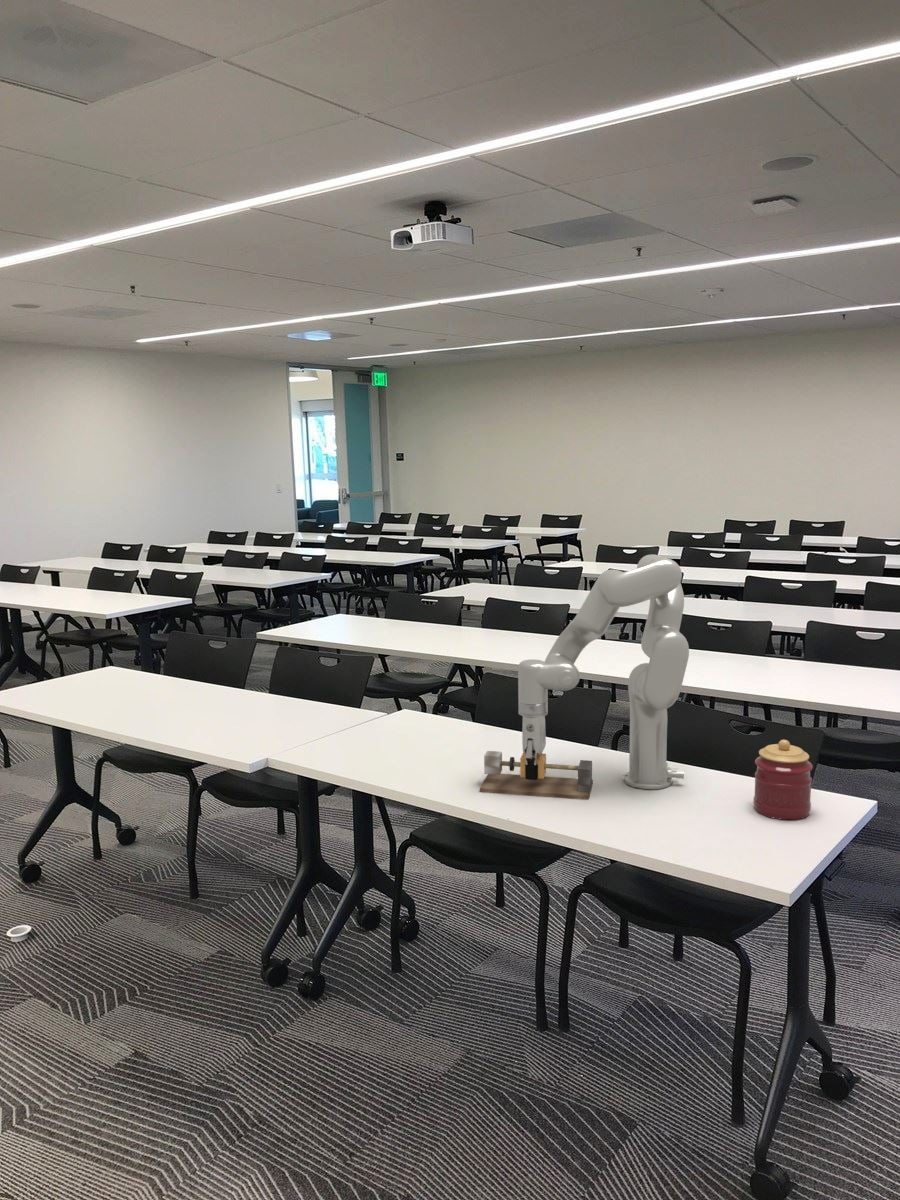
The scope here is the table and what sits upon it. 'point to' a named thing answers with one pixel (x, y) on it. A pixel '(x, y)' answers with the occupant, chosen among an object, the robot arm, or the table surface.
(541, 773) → the sleeve
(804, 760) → the canister
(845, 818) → the table surface
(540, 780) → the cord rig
